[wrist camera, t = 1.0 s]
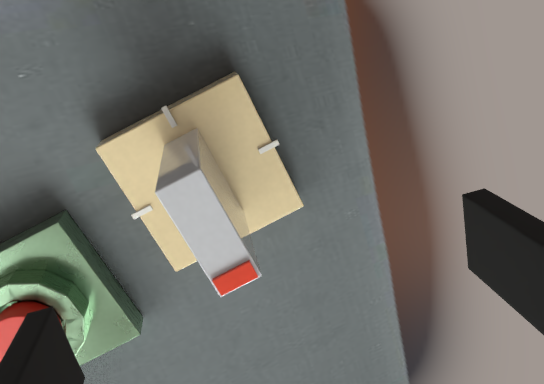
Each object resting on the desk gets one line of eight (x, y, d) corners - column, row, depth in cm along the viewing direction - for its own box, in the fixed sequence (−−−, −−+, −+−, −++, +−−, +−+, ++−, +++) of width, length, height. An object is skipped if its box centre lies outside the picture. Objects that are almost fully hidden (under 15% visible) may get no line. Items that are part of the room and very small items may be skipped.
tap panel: (237, 63, 32) (241, 66, 30) (304, 198, 36) (311, 209, 34) (92, 138, 32) (85, 146, 30) (174, 265, 36) (173, 279, 34)
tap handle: (163, 144, 31) (153, 193, 22) (197, 127, 31) (200, 169, 22) (212, 227, 33) (220, 300, 25) (244, 211, 33) (263, 279, 25)
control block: (66, 209, 33) (50, 233, 30) (143, 317, 37) (138, 350, 33) (-64, 276, 33) (-96, 309, 30) (26, 377, 37) (8, 417, 33)
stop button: (38, 290, 31) (30, 305, 29) (74, 335, 32) (68, 352, 31) (-18, 319, 31) (-29, 335, 29) (21, 363, 33) (12, 381, 31)
